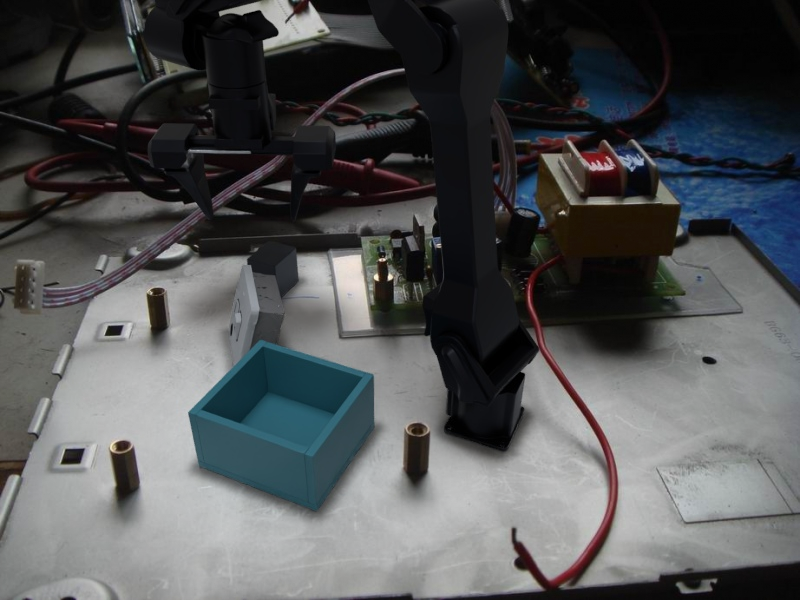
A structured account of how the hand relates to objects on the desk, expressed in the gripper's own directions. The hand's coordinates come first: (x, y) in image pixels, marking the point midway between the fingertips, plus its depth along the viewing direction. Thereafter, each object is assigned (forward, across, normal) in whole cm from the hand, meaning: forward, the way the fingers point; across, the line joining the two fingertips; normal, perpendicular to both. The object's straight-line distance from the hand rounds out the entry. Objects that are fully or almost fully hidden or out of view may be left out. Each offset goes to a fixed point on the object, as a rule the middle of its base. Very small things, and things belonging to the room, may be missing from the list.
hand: (252, 218), depth 83 cm
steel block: (+13, -1, -5) cm, 14 cm away
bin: (+13, -6, +22) cm, 26 cm away
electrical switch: (+13, 0, +8) cm, 15 cm away
